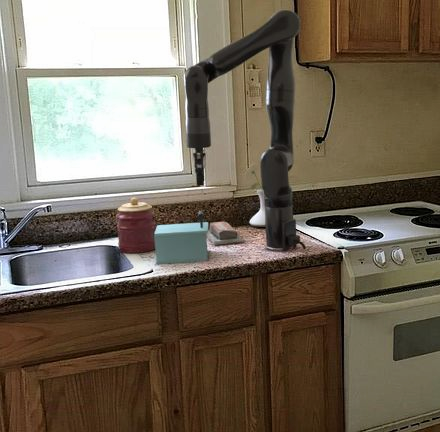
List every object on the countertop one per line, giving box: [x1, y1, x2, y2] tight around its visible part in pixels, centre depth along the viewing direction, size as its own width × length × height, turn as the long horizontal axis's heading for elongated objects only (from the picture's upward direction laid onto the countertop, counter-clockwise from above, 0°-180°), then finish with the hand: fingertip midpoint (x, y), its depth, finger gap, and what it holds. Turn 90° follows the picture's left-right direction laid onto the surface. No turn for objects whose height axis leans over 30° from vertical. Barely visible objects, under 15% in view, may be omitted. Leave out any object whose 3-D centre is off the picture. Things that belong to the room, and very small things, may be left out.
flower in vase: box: [243, 161, 266, 228], centre depth 243 cm, size 13×11×25 cm
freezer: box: [154, 233, 208, 265], centre depth 203 cm, size 16×13×9 cm
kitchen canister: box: [115, 197, 157, 254], centre depth 216 cm, size 13×13×18 cm
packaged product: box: [206, 221, 243, 246], centre depth 226 cm, size 18×5×10 cm
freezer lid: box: [154, 210, 209, 236], centre depth 202 cm, size 16×13×5 cm
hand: (200, 183), depth 201 cm, fingers open, 8 cm apart
